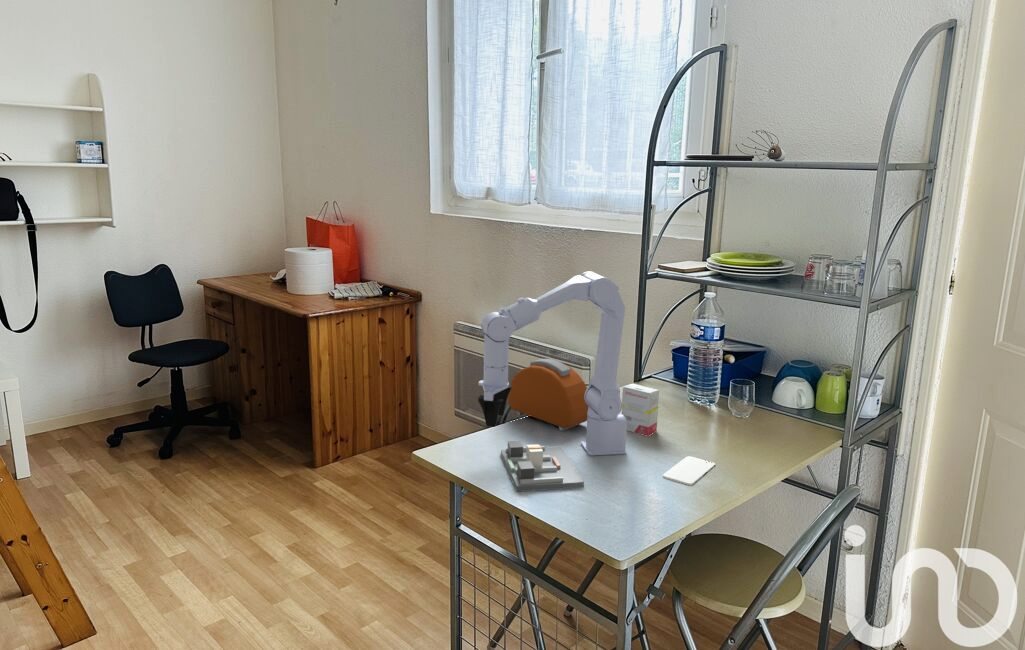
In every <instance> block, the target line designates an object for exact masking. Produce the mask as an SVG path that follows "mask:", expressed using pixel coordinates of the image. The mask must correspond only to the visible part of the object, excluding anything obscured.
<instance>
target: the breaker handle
mask: <svg viewBox="0 0 1025 650" xmlns="http://www.w3.org/2000/svg"><path fill="white" fill-rule="evenodd" d="M541 446H542V445H540V444H526V446H525V447H526V461H531V463H532V465H533V467H542V466H543V450H542V447H541Z"/></svg>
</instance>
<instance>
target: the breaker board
mask: <svg viewBox="0 0 1025 650" xmlns="http://www.w3.org/2000/svg"><path fill="white" fill-rule="evenodd" d="M540 446H541V447H542V450H543V466H542V467H533V465H532V463H531V461H526V447H527V446H523V443H522V441H521V440H507V447H505V449H501V450H500V455H501V458H502V460H503V463H504V465H505V468H506V470H507V471H508V474H509V476H510V480H511V481H512V483H513V485H514V488H515V490H516V492H528V491H540V490H556V489H557V490H559V489H572V488H573V489H574V488H584V486H585V481H584V479H583V478H582V476H581V475H580V473H579V471H577V468H576V467H575V466H574V464H573V462H572V461H571V460H570V458H569V456H568V455H567V453H566V452H565V450H564V448H563V447H562V446H554V447H553V446H549V447H545V445H540Z"/></svg>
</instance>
